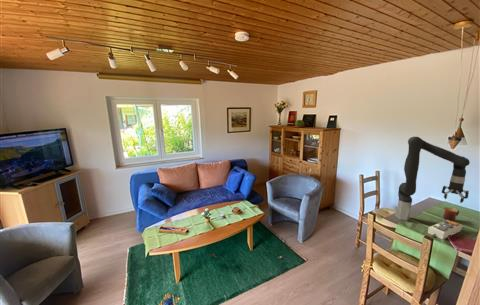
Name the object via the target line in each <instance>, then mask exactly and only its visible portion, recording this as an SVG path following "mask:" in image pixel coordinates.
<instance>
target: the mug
mask: <svg viewBox="0 0 480 305" xmlns="http://www.w3.org/2000/svg"><path fill="white" fill-rule="evenodd" d="M443 210H444V212H443V215H442V217H443V219H444V221H446V220H449V221H454V222H456V221H455V220H456V218H457V216H458V215H459V214H460V210H459V209H456V208H453V207H448V206H444V207H443Z"/></svg>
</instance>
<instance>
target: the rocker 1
mask: <svg viewBox="0 0 480 305" xmlns="http://www.w3.org/2000/svg"><path fill="white" fill-rule="evenodd" d="M437 229H439V230H441V231H445V230H446V229H448V226H446V225H443V224H441V225H440V226H438V227H437Z"/></svg>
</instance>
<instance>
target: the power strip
mask: <svg viewBox="0 0 480 305" xmlns="http://www.w3.org/2000/svg"><path fill="white" fill-rule="evenodd" d="M444 223H448V224H451V223H449V220H443V221H442V222H441V221H440V222H438V223H436V224H432V225H430V226H429V227H428V228H427V233H428V234H429V235H431V237H432V238H433V237H436V238H438V239H441V240H444V239H446V238H449V237H448V235H451V236H453V235H455V234H457V233H459V232H462V229H463V224H460V223H459V225H454V224H451V225H453V226H454V227H453V228H451V227H448V229H446V230H445V231H441V230H439V229H437V227H438V226H440V225H441V224H444Z"/></svg>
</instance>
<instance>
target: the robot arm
mask: <svg viewBox="0 0 480 305" xmlns="http://www.w3.org/2000/svg"><path fill="white" fill-rule="evenodd" d="M407 144H408V153H407V156H406V158H405V161H404V165H403V166H404V168H403V171H404V175H405V182H402V183H401V184H399V186H398V193H397V195H398V202H397V206H396V207H395V214H394V217H395V218H397V219H398V220H401V221H406V222H407V221H410V215H411V211H412V210H411V209H412V204H413V198H412V196H414V195H415V193H416V191H417V178H418V172H419V167H420V155H421V150H424V151H425V152H427V153H429V154H432V155H434V156H437V157H439V158H441V159H443V160H444V161H445V160H446V161H447V162H450V163H452V165H453V166H452V167H453V168H452V173H451V175H450V178H449V179H450V180H449V186H446V185H443V186H442V189H441V194H444V195H443V198H444V199H445V200H446V199H448V194H455V195H458V196H459V197H460V201H459V203H460V204H462V203H464V200H465V199H466V200H467V199H468V198H469V193H470V190H465V189H464V188H465V187H464V186H465V181H466V175H467V170H466V167H467V166H469V165H470V162H471V161H470V160H469V158H467V157H465V156H462V155H458V154H456V153H454V152H452V151H450V150H447V149H444V148H442V147H440V146H438V145H434V144H432V143H430V142H427V141H425V140H424V139H422V138H421V137H419V136H411V137H409V138H408V140H407ZM446 190H448V191H446ZM463 193H464V194H465V195H463Z"/></svg>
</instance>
